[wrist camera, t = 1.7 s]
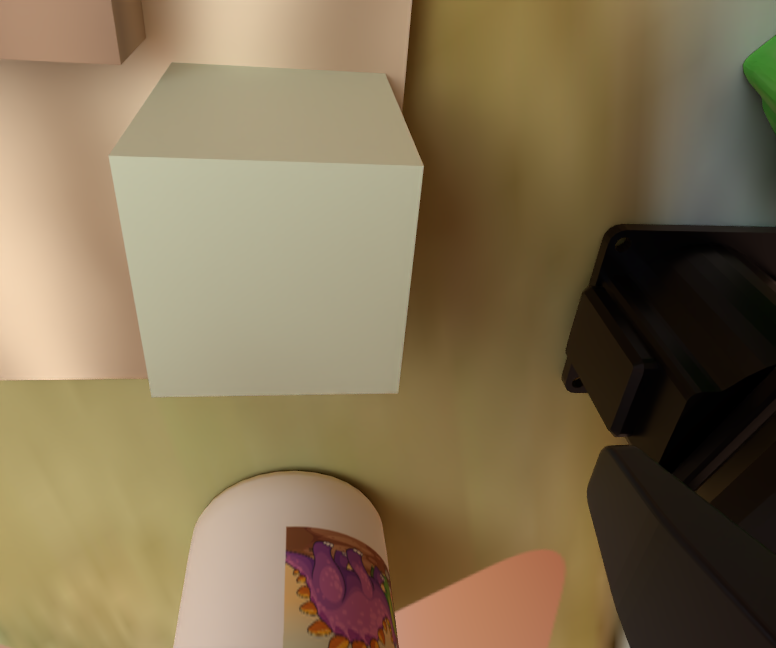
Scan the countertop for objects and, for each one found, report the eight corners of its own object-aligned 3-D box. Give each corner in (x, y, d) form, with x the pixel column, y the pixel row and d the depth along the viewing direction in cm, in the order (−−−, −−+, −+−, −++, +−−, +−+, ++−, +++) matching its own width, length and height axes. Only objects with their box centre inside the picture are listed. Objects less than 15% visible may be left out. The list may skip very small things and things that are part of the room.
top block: (385, 73, 16) (423, 166, 11) (372, 254, 18) (398, 393, 13) (171, 62, 15) (108, 155, 10) (192, 252, 18) (151, 397, 13)
